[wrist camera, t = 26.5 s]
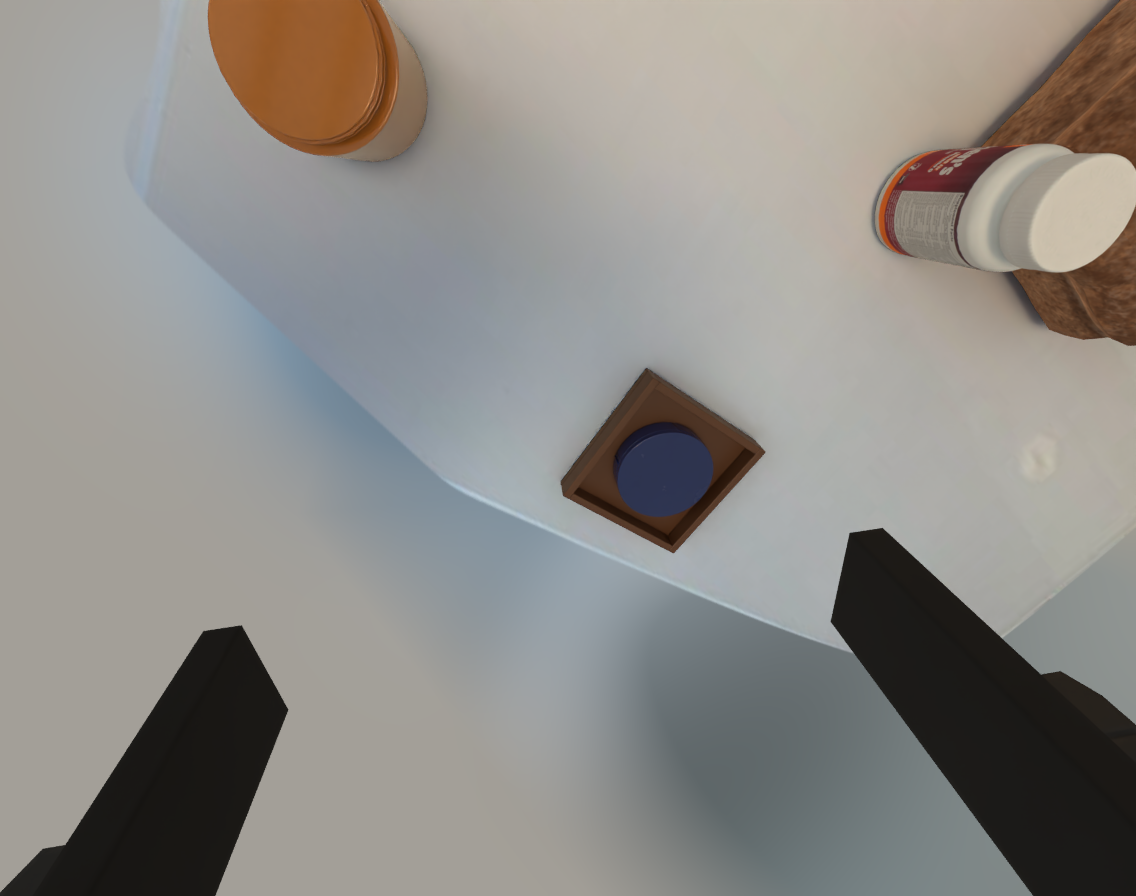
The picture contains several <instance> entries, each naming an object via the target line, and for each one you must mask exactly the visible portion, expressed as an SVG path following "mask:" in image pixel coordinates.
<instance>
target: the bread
mask: <svg viewBox="0 0 1136 896" xmlns="http://www.w3.org/2000/svg"><path fill="white" fill-rule="evenodd" d="M1025 144H1055V145H1059V146H1062V147H1065V148H1067V149H1069V150H1070V151H1072V152H1073V153H1074V154H1075V153H1088V154H1094V153H1110V154H1117V155H1120V156H1122V157H1124V158H1126V159H1127V160H1129V161H1130V162H1131V163H1132V165H1133V166H1134V168H1135V170H1136V0H1120V1H1119V2H1118V4H1117V5H1116V6H1115V7H1114V8H1113V9H1112V10H1111V11H1110V12H1109V13H1108V14H1107V15H1106V16H1105V17H1104V18H1103V19H1102V20H1101V21H1100V22H1099V23H1098V24H1097V25H1096V26H1095V27H1094V28H1093V29H1092V30H1091V31H1090V32H1089V33H1088V34H1087V35H1086V37H1085V38H1084V39H1083V40H1082V41H1081V42H1080V44H1079V45H1078V46H1077V47H1076V48H1075V49H1074V51H1073V52H1072V53H1071V54H1070V55H1069V56H1068V57H1067V59H1066V60H1065V61H1064V62H1063V63H1062V64H1061V65H1060V67H1059V68H1058V69H1057V70H1056V71H1055V72H1054V73H1053V74H1052V76H1051V77H1050V78H1049V79H1048V80H1047V81H1046V82H1045V83H1044V84H1043V86H1042V87H1041V88H1040V89H1039V90H1038V91H1037V92H1036V93H1035V94H1034V95H1033V96H1032V97H1031V98H1030V99H1029V100H1028V101H1026V102H1025V103H1024V104H1023V105H1022V106H1021V107H1020V108H1019V109H1018V110H1017V111H1016V112H1015V113H1014V114H1013V115H1012V116H1011V117H1010V118H1009V119H1008V120H1007V121H1006V122H1005V123H1004V124H1003V125H1002V126H1001V127H1000V128H999V129H998V130H997V131H996V132H995V133H994V134H993V135H992V136H991V137H990V138H989V139H988V140H987V142H986V143H985V144H984V145H983V146H982V147H993V146H1008V145H1025ZM1012 272H1013V274H1014V275H1015V276H1016V278H1017V279H1018V281H1019V282H1020V284H1021V285H1022V286H1023V288H1024V290H1025V292H1026V293H1027V295H1028V297H1029V299H1030V301H1031V303H1032V304H1033V306H1034V307H1035V309H1036V310H1037V312H1038V314H1039V315H1040V317H1041V318H1042V320H1043V321H1044V323H1045V324H1046V326H1047V327H1048V329H1049V330H1051V331H1054V332H1057V333H1060V334H1063V335H1066V336H1070V337H1075V338H1079V339H1083V340H1085V339H1095V338H1105V337H1109V338H1111V339H1114V340H1116V341H1118V342H1120V343H1123V344H1125V345H1127V346H1132V345H1136V206H1135V208H1134V211H1133V213H1132V216H1131V218H1130V220H1129V222H1128V223H1127V225H1126V227H1125V228H1124V230H1123V231H1122V233H1121V234H1120V235H1119V237H1118V238H1117V239H1116V240H1115V242H1114V243H1113V244H1112V245H1111V246H1110V247H1109V248H1108V249H1107V250H1106V251H1105V252H1104V253H1102V254H1101V255H1100V256H1099V257H1097V258H1096V259H1095V260H1093V261H1091V262H1090V263H1088V264H1086V265H1084V266H1082V267H1080V268H1078V269H1075V270H1071V271H1067V272H1058V273H1056V272H1046V271H1039V270H1030V269H1023V268H1021V269H1018V270H1014V271H1012Z"/></svg>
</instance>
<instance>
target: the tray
mask: <svg viewBox="0 0 1136 896" xmlns="http://www.w3.org/2000/svg"><path fill="white" fill-rule="evenodd" d="M659 422H672V423H677V424H681V425H683V426H686V427H688V428H689V429H691V430H692V431H693V432H694V433H696V434H697V436H698V437H699V438H700V439H701V441H702V442H703V443H704V445H705V446H706V448H707V449H708V451H709V452H710V455H711V457H712V461H713V476H712V480H711V483H710V485H709V487H708V489H707V491H706V492H705V494H704V495H703V496H702V497H701V499H700V500H699V501H698V502H696V503H695V504H694V505H693V506H691V507H690V508H688V509H686V510H685V511H682V512H680V513H678V514H675V515H671V516H665V517H652V516H647V515H643V514H640V513H638V512H636V511H634V510H633V509H631V508H630V507H629V506H628V505H627V504H626V503H625V502H624V500H623V499H622V497H621V495H620V493H619V490H618V487H617V484H616V481H615V479H614V474H613V464H614V459H615V457H614V456H616V453H617V451H618V449H619V448H620V446H621V445H622V443H623V442H624V441H625V440H626V439H627V438H628V437H629V436H630V435H631V434H632V433H634V432H635V431H637V430H638V429H640V428H642V427H644V426H647V425H650V424H654V423H659ZM764 454H765V451H764V450H763V449H762V447H761V446H760V445H759V444H758V443H757V442H756V441H755V440H754V439H752V438H751V437H749V436H748V435H746V434H745V433H743V432H742V431H740V430H739V429H737V428H736V427H734V426H733V425H731V424H730V423H728V422H727V421H725V420H724V419H722V418H721V417H719V416H718V415H716V414H715V413H713V412H712V411H710V410H709V409H707V408H706V407H704V406H703V405H701V404H700V403H698V402H697V401H695V400H694V399H692V398H691V397H689V396H688V395H686V394H685V393H683V392H682V391H680V390H679V389H677V388H676V387H674V386H673V385H671V384H670V383H668V382H667V381H665V380H664V379H662V378H661V377H659V376H658V375H656V374H655V373H653V372H652V371H650V370H649V369H647V368H646V369H645V371H644V372H643V373H642V375H641V376H640V377H639V379H638V380H637V381H636V383H635V384H634V385H633V387H632V388H631V389H630V391H629V392H628V393H627V395H626V396H625V397H624V399H623V400H622V401H621V403H620V404H619V405H618V407H617V408H616V409H615V411H614V412H613V413H612V415H611V416H610V417H609V419H608V420H607V421H606V422H605V424H604V425H603V426H602V428H601V429H600V430H599V432H598V433H597V434H596V436H595V437H594V438H593V440H592V441H591V442H590V444H589V445H588V446H587V448H586V449H585V450H584V452H583V453H582V454H581V456H580V457H579V458H578V460H577V461H576V462H575V464H574V465H573V466H572V468H571V469H570V470H569V472H568V473H567V474H566V475H565V477H564V478H563V479H562V481H561V485H562V492H563V496H564V497H566V498H568V499H570V500H572V501H574V502H576V503H578V504H580V505H582V506H584V507H586V508H587V509H589V510H591V511H593V512H595V513H597V514H599V515H601V516H603V517H605V518H607V519H609V520H610V521H612V522H614V523H616V524H618V525H620V526H622V527H624V528H626V529H628V530H630V531H632V532H633V533H635V534H637V535H639V536H641V537H643V538H645V539H647V540H649V541H651V542H653V543H655V544H656V545H658V546H660V547H662V548H664V549H666V550H668V551H670V552H672V553H675V551H676V550H677V549H678V548H679V547H680V546H681V545H682V544H683V543H684V542H685V540H686V539H687V538H688V537H689V536H690V535H691V534H692V533H693V532H694V531H695V529H696V528H697V527H698V526H699V525H700V524H701V523H702V522H703V521H704V520H705V518H706V517H707V516H708V515H709V514H710V513H711V512H712V511H713V510H714V509H715V507H716V506H717V505H718V504H719V503H720V502H721V501H722V500H723V499H724V498H725V496H726V495H727V494H728V493H729V492H730V491H731V490H732V489H733V488H734V487H735V485H736V484H737V483H738V482H739V481H740V480H741V479H742V478H743V477H744V476H745V474H746V473H747V472H748V471H749V470H750V469H751V468H752V467H753V466H754V465H755V463H756V462H757V461H758V460H759V459H760V458H761V457H762V456H763V455H764Z"/></svg>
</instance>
